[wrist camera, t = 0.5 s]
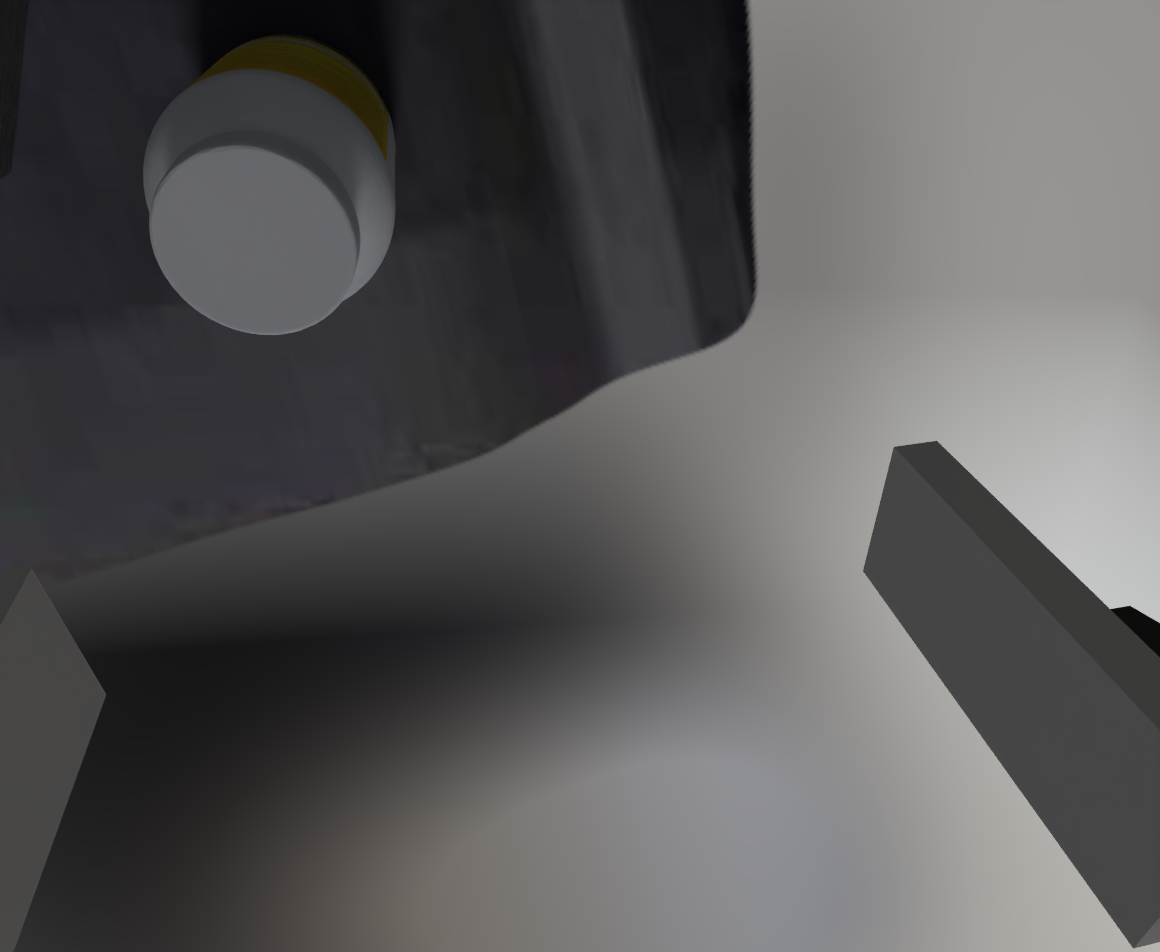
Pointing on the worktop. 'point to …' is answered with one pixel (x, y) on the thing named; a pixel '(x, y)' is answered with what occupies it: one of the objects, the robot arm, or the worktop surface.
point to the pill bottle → (272, 185)
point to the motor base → (10, 74)
